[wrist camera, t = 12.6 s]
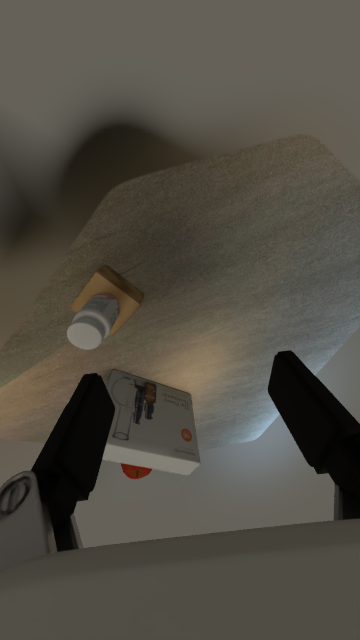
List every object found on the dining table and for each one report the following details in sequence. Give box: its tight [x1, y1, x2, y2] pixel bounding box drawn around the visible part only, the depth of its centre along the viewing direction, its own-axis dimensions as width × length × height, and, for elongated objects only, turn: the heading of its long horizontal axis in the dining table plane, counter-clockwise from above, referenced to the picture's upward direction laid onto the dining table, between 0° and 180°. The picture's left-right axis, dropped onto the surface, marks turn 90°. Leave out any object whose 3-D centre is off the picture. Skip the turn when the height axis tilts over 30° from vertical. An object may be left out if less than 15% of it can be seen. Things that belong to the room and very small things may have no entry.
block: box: [70, 265, 143, 335], centre depth 31 cm, size 8×8×4 cm
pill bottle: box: [67, 293, 120, 350], centre depth 25 cm, size 5×5×8 cm
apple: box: [121, 463, 152, 479], centre depth 50 cm, size 11×11×11 cm
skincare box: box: [102, 369, 201, 475], centre depth 38 cm, size 21×6×16 cm, turn 62°
